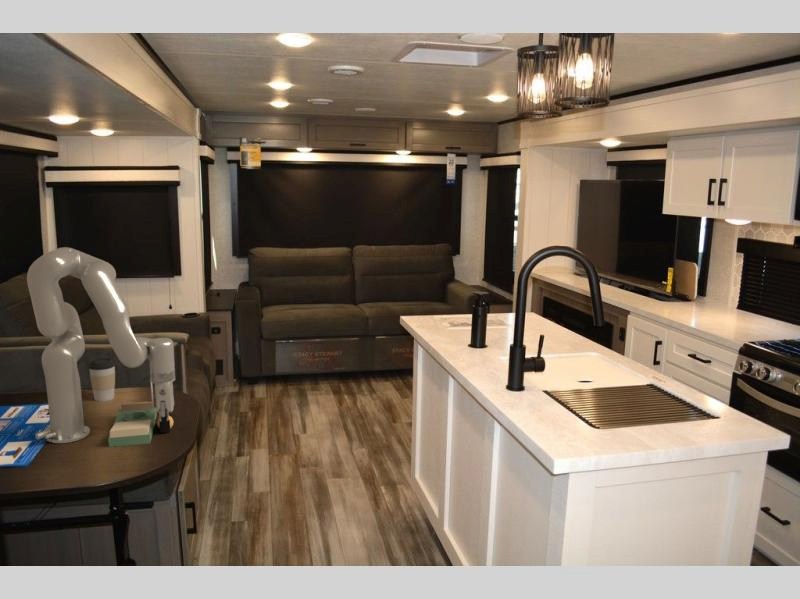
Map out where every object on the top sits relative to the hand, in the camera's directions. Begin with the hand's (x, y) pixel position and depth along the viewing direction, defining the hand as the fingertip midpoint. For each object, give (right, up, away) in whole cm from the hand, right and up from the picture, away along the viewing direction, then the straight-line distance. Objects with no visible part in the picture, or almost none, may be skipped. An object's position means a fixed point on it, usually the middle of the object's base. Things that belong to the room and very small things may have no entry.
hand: (165, 427), depth 212 cm
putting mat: (-10, -1, -1) cm, 10 cm away
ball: (0, +2, 0) cm, 2 cm away
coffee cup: (-33, +5, +27) cm, 43 cm away
